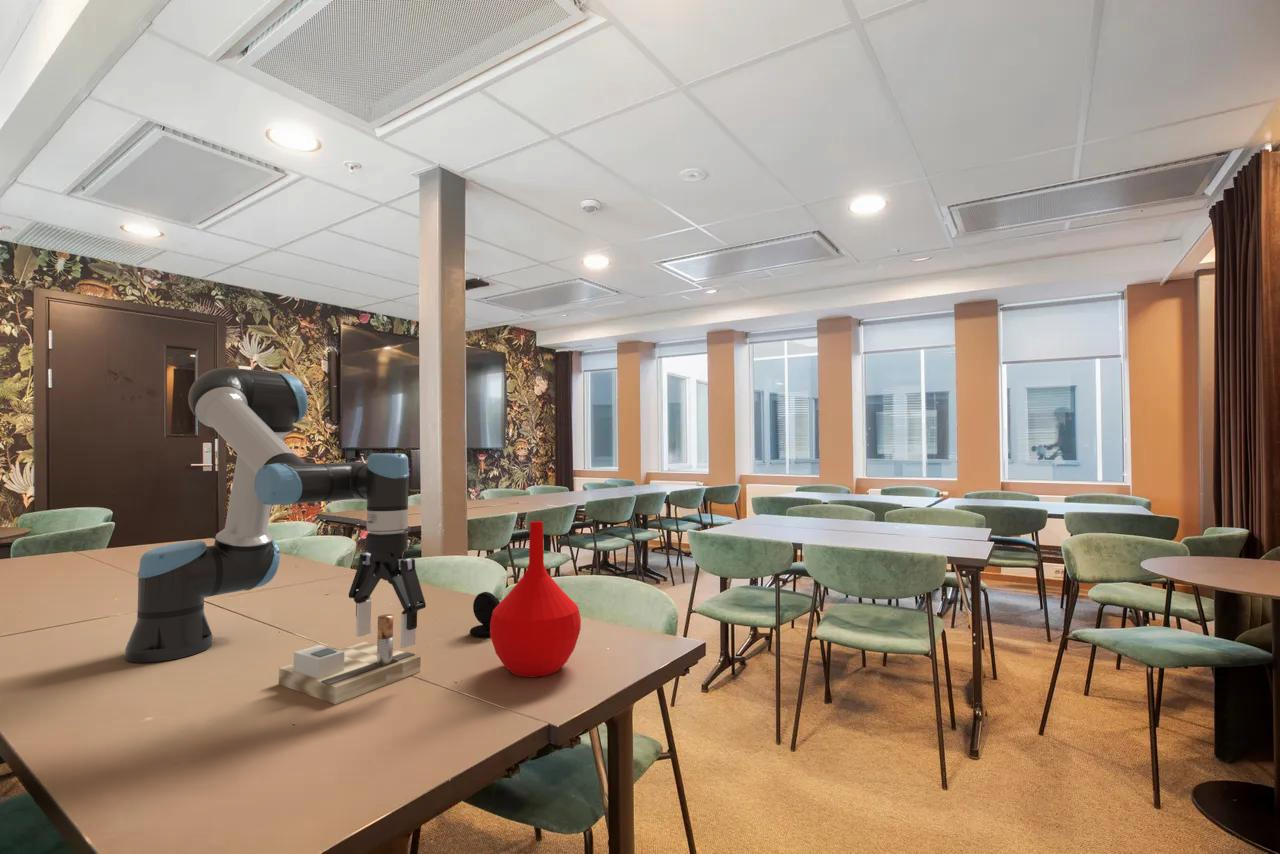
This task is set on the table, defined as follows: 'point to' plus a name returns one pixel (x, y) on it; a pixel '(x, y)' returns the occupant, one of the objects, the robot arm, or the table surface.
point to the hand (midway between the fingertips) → (385, 640)
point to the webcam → (483, 613)
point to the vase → (535, 619)
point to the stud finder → (318, 661)
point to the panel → (352, 674)
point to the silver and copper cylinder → (385, 640)
